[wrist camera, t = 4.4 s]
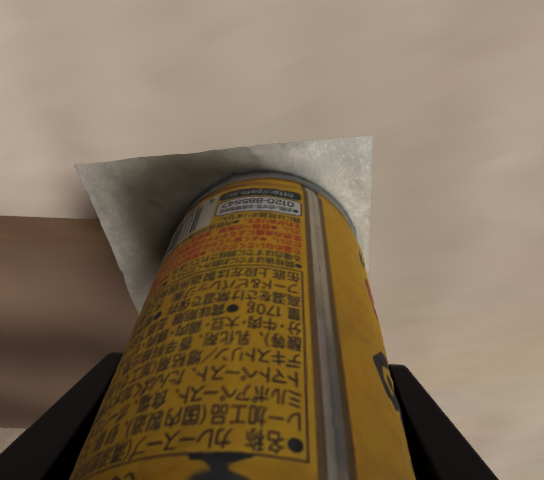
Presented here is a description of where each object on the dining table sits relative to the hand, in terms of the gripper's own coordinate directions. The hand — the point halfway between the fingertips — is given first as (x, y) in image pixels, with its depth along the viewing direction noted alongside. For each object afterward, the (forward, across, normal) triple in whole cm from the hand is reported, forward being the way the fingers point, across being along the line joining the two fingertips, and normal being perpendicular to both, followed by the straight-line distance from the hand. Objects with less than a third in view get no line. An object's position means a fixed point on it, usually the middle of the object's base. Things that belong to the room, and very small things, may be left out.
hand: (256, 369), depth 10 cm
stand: (+10, +12, +9) cm, 18 cm away
